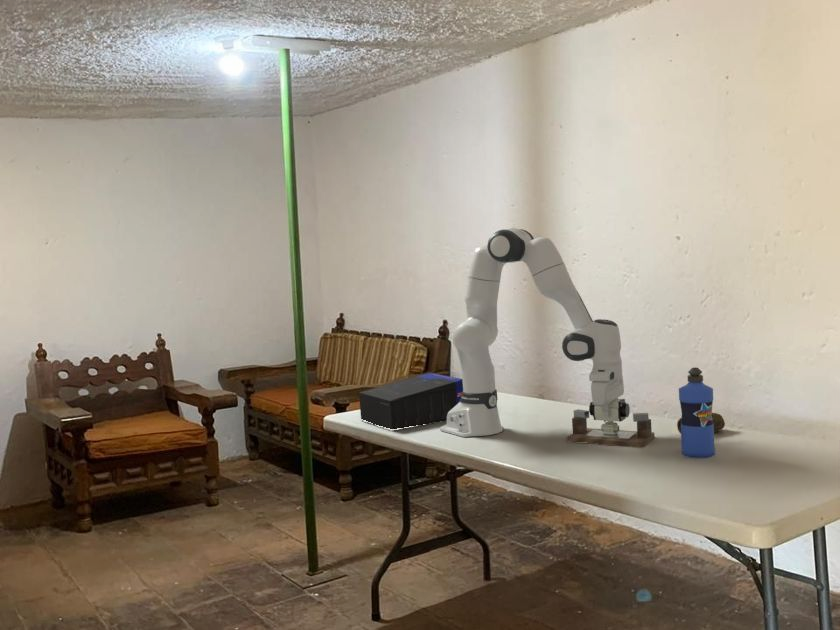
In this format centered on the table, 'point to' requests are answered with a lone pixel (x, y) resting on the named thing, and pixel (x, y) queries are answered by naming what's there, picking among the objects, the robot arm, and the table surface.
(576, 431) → the shaft rig base
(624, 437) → the grey long bracket
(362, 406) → the headphone box
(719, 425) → the brown wooden cylinder
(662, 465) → the table surface
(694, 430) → the water bottle
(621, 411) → the pneumatic valve
